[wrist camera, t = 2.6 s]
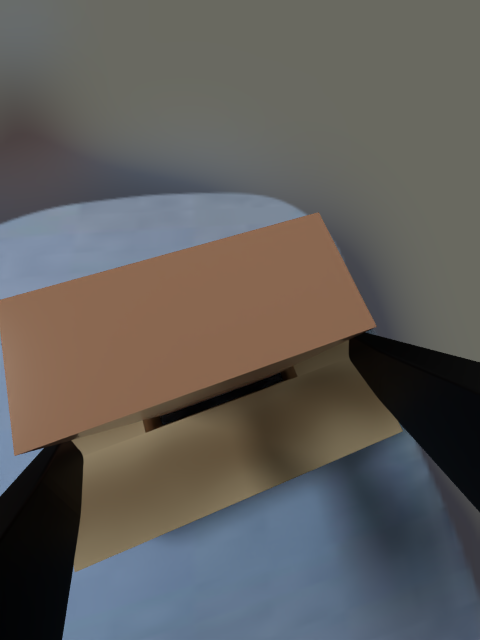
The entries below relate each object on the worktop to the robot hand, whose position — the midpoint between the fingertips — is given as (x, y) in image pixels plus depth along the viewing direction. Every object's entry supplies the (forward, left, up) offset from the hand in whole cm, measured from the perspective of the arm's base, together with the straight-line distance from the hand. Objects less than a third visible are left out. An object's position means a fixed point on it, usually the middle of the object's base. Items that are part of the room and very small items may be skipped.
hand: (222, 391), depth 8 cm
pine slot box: (+1, 0, -9) cm, 9 cm away
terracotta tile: (+1, 0, -9) cm, 9 cm away
